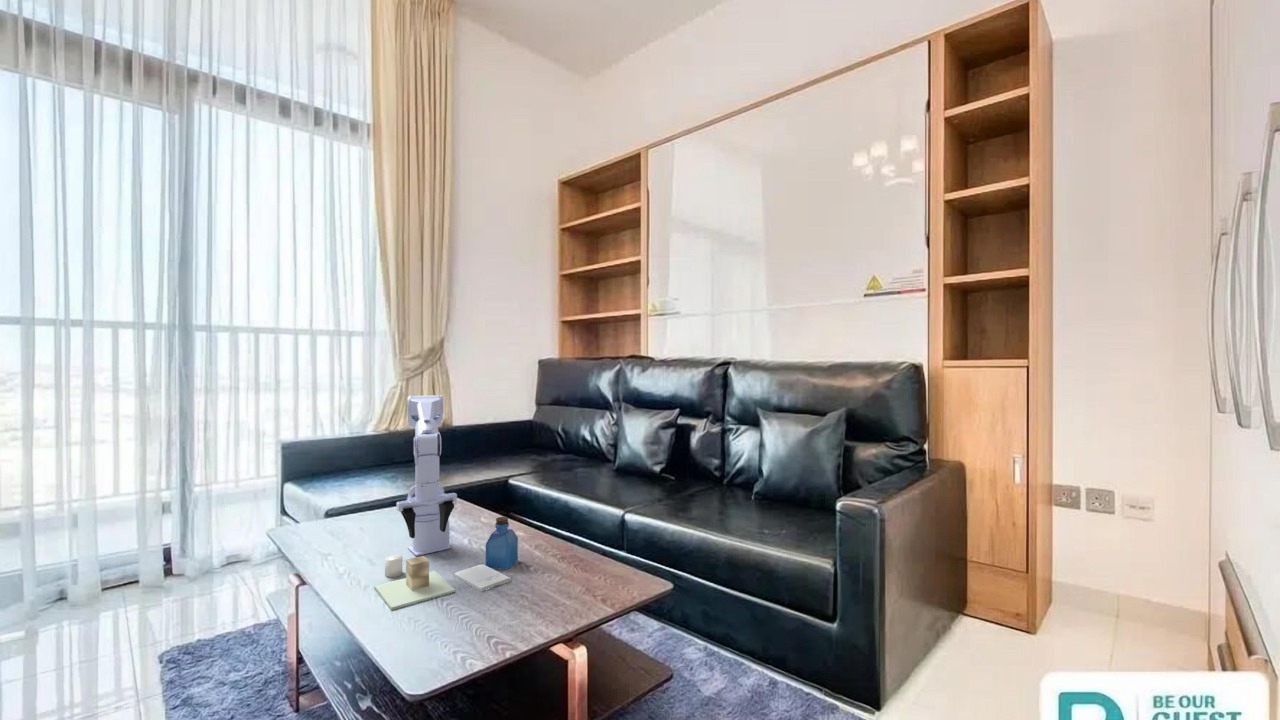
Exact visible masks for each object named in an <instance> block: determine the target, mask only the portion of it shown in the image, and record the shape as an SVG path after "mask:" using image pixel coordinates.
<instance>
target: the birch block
mask: <svg viewBox="0 0 1280 720" xmlns="http://www.w3.org/2000/svg"><path fill="white" fill-rule="evenodd" d="M405 571H406V572H405V578H406V585H407V586H408V587H409V588H410V589H411V591H412V590H416V589H420V588H423V587H427V586H429V572H430V560H429V559H428V558H427V557H425V556H424V555H419V556H416V557H413V558H408V559H405Z"/></svg>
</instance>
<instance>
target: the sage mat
mask: <svg viewBox="0 0 1280 720" xmlns="http://www.w3.org/2000/svg"><path fill="white" fill-rule="evenodd" d="M373 586H374V587H373V589H374V590H375V591H376V593H377V594H378V595H379V596H380V598H381V599H382V600H383V602H384V603H385V604H386V606H387V607H388V608H389V610H390V611H393V610H397V609H401V608H404V606H405V607H408V606H411V604H412V605H415V604H419V603H421V602H420V601H422V602H425V601H424V600H426V601H428V600H427V599H429V600H431V599H430V598H433V599H435V598H434V597H437V596H440V597H443V596H442V595H444V596H446V595H445V594H447V595H450V594H449V593H451V594H453V593H452V592H454V593H456V589H455V588H454V587H453V586H452V585H451V584H450V583H448V582H447V581H446V580H445V579H444V578H443V577H442V576H441V575H440V574H439V573H437V572H436V571H435V570H432V571H429V586H427V587H423V588H420V589H416V590H412V591H411V589H410V588H409V587H408V586H407V585H406V577H405V578H400V579H396V580H392V581H389V582H384V583H380V584H377V585H373ZM437 598H438V597H437ZM418 602H419V603H418ZM414 603H415V604H414ZM407 605H408V606H407Z"/></svg>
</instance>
